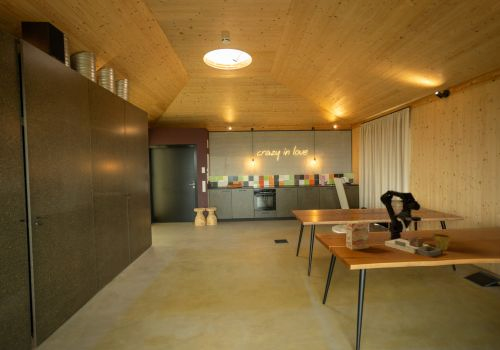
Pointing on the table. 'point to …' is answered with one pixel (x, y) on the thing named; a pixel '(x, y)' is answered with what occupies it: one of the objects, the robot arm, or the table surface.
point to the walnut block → (416, 241)
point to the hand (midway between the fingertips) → (406, 228)
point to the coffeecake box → (357, 235)
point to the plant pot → (441, 241)
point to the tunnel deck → (404, 246)
